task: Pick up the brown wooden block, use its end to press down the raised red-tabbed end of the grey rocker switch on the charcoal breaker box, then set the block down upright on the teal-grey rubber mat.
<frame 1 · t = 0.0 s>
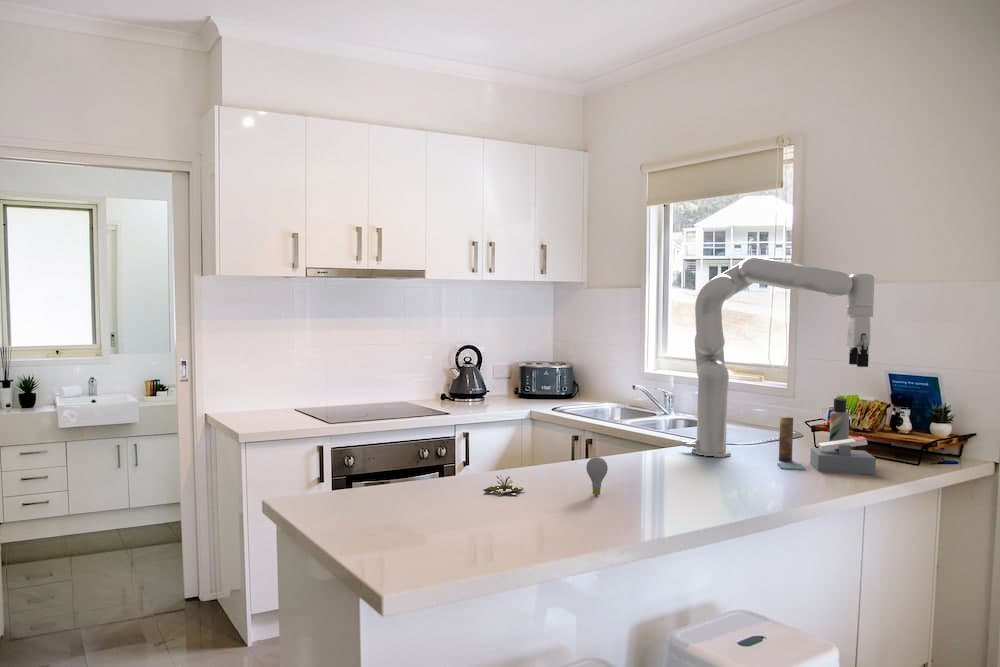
hand: (858, 365, 241), 31 cm above the table, fingers open, 9 cm apart
lily flower: (503, 494, 197), on the table
brown wooden block: (785, 460, 243), on the table
breaker rocker: (842, 443, 231), point 8 cm above the table, hinge at -12.0°
lotion bottle: (838, 458, 248), on the table
breaker box: (841, 469, 231), on the table
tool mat: (791, 467, 232), on the table
light bulb: (596, 496, 194), on the table
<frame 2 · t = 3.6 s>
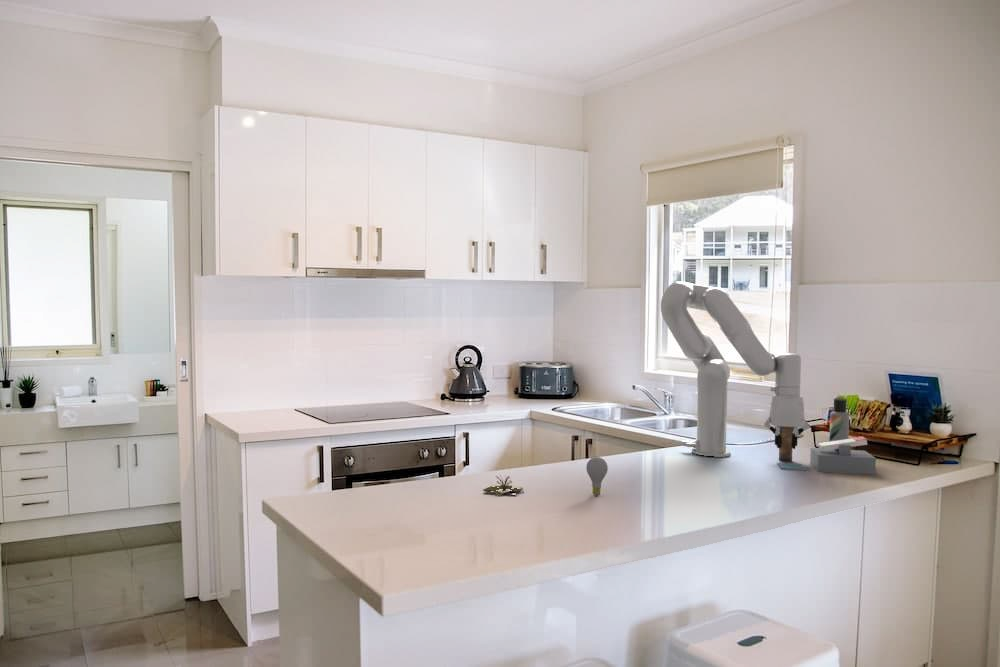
hand: (785, 447, 243), 4 cm above the table, fingers closed on brown wooden block, 4 cm apart
brown wooden block: (785, 460, 243), on the table, touching gripper
everything else where it was.
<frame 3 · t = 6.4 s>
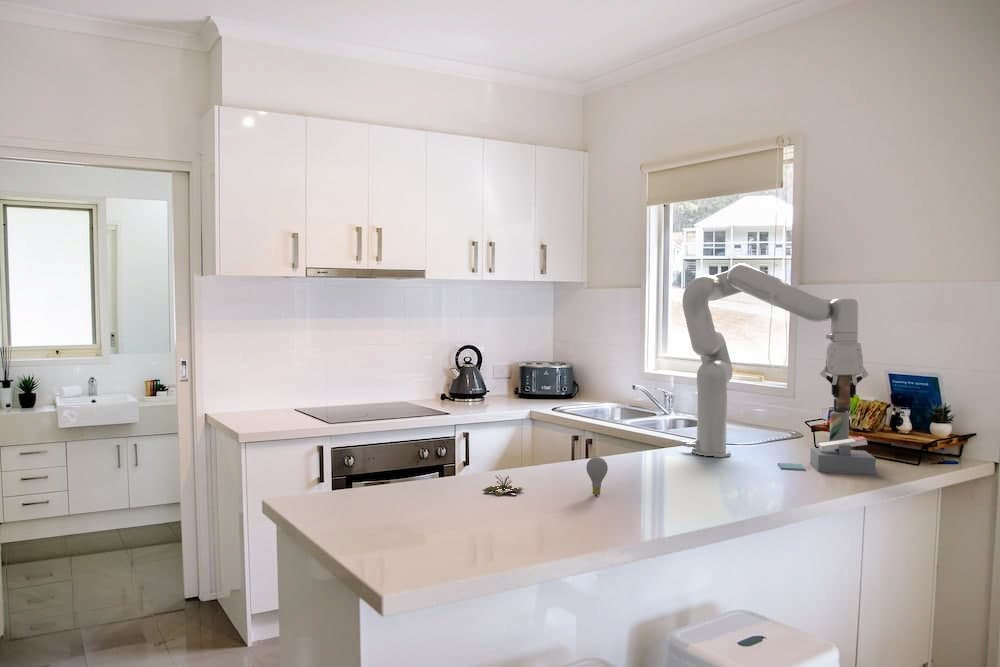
hand: (843, 396, 232), 22 cm above the table, fingers closed on brown wooden block, 4 cm apart
brown wooden block: (843, 410, 233), point 18 cm above the table, touching gripper
everything else where it was.
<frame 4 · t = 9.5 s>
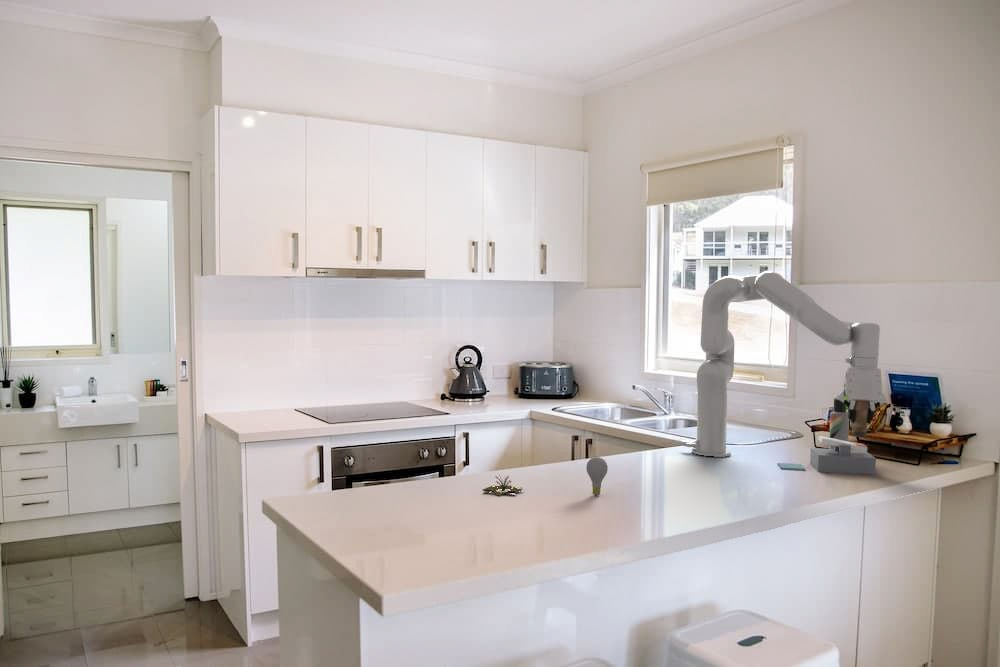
hand: (860, 421, 230), 15 cm above the table, fingers closed on brown wooden block, 4 cm apart
brown wooden block: (859, 434, 230), point 11 cm above the table, touching gripper
breaker rocker: (842, 443, 231), point 8 cm above the table, hinge at 9.7°
everything else where it was.
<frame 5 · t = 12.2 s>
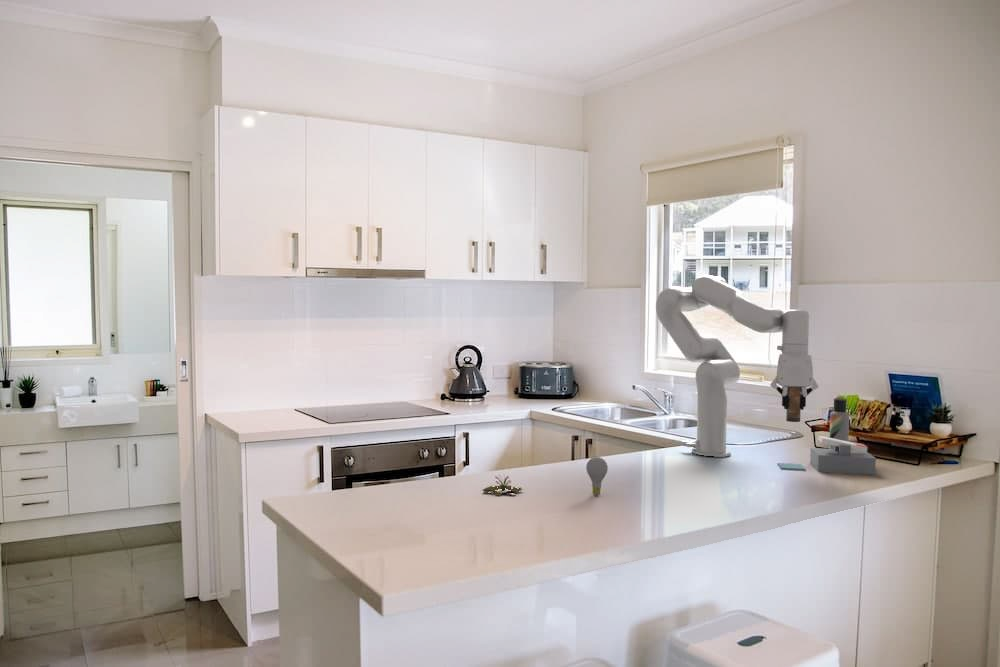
hand: (793, 408, 231), 18 cm above the table, fingers closed on brown wooden block, 4 cm apart
brown wooden block: (793, 420, 232), point 14 cm above the table, touching gripper
everything else where it was.
when the fingers open (6 cm above the table, at t = 14.5 s): brown wooden block drops 2 cm, resting on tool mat.
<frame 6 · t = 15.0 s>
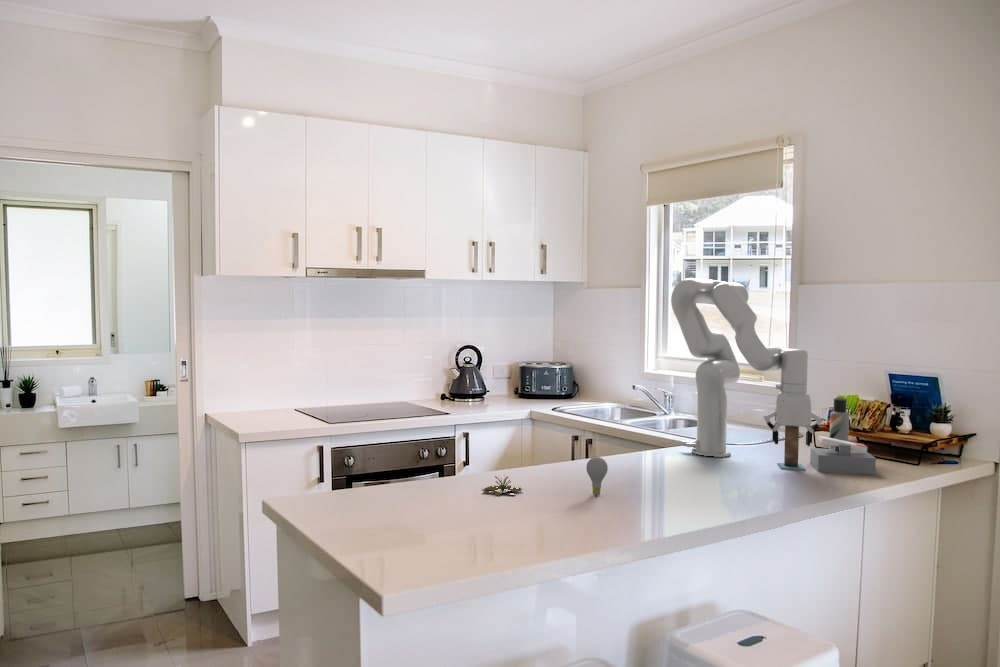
hand: (791, 444, 232), 7 cm above the table, fingers open, 9 cm apart
brown wooden block: (791, 465, 232), point 1 cm above the table, touching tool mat
everything else where it was.
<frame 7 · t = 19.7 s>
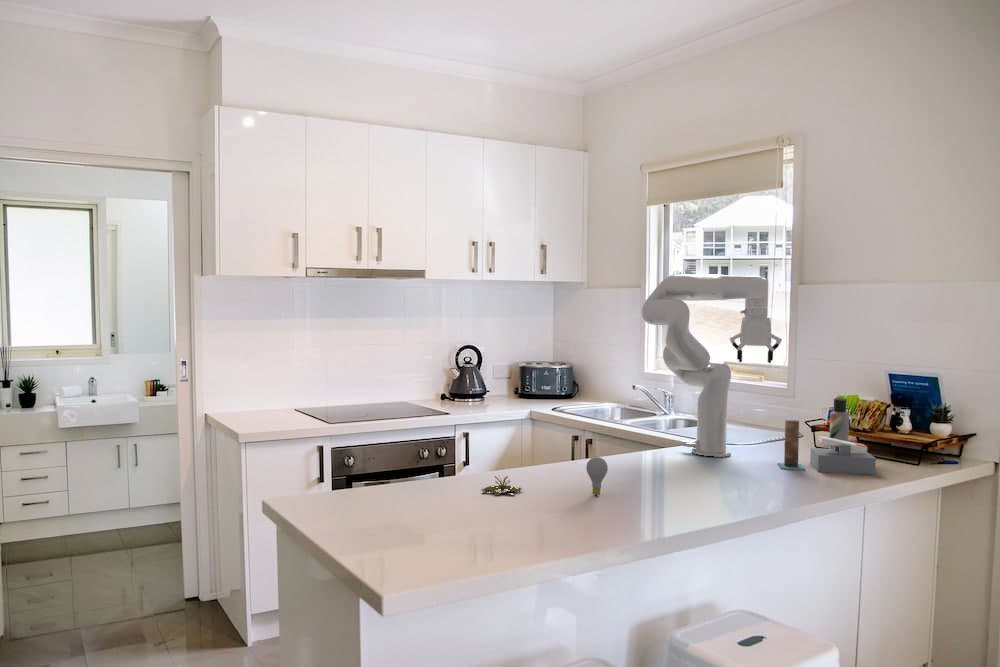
hand: (754, 362, 262), 30 cm above the table, fingers open, 9 cm apart
nothing on the table moved.
at the end: breaker rocker at +10° (first picture: -12°); brown wooden block 0.2 cm off-centre on the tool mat, point 0.5 cm above the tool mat's base; brown wooden block tilted 1° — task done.
